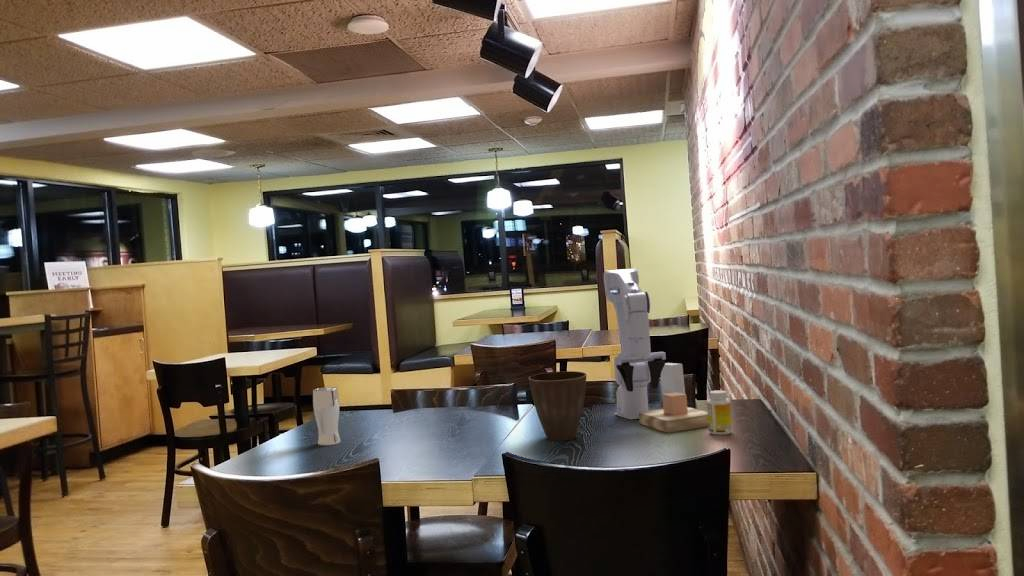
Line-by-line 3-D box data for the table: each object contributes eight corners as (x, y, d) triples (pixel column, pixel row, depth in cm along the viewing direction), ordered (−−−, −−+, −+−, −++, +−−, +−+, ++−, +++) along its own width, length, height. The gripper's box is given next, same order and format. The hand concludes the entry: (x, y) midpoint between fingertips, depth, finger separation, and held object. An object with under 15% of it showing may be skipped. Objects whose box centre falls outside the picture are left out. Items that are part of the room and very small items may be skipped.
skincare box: (686, 403, 217) (684, 363, 217) (676, 405, 215) (673, 365, 214) (672, 400, 222) (669, 362, 222) (661, 403, 220) (659, 363, 220)
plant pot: (601, 438, 178) (596, 375, 178) (546, 447, 173) (541, 382, 173) (575, 428, 192) (571, 369, 192) (524, 436, 187) (519, 375, 187)
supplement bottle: (736, 432, 175) (734, 390, 175) (723, 436, 171) (720, 394, 171) (717, 429, 179) (714, 389, 179) (704, 433, 176) (701, 392, 176)
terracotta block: (663, 412, 190) (662, 394, 190) (678, 410, 191) (676, 392, 191) (672, 415, 185) (671, 396, 185) (687, 413, 187) (686, 394, 187)
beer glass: (319, 447, 191) (315, 392, 191) (313, 443, 198) (309, 389, 197) (345, 443, 195) (340, 388, 194) (338, 438, 201) (334, 385, 201)
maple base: (639, 423, 193) (638, 412, 193) (683, 416, 197) (683, 405, 197) (667, 432, 180) (667, 420, 179) (714, 425, 184) (713, 413, 184)
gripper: (622, 341, 182) (626, 394, 182) (670, 336, 187) (674, 387, 187) (609, 340, 189) (612, 391, 189) (656, 335, 194) (659, 384, 194)
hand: (642, 389), depth 188 cm, fingers open, 7 cm apart
